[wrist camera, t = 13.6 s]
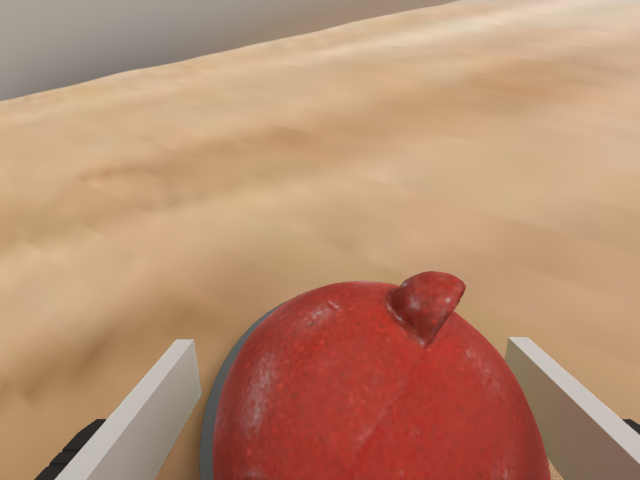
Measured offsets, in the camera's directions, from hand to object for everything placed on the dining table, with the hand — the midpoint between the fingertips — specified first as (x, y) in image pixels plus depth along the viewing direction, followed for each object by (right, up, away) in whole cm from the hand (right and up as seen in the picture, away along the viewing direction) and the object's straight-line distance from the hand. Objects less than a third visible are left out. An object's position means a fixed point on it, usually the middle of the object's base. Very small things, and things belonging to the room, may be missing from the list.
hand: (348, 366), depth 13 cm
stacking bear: (+1, -7, +7) cm, 10 cm away
